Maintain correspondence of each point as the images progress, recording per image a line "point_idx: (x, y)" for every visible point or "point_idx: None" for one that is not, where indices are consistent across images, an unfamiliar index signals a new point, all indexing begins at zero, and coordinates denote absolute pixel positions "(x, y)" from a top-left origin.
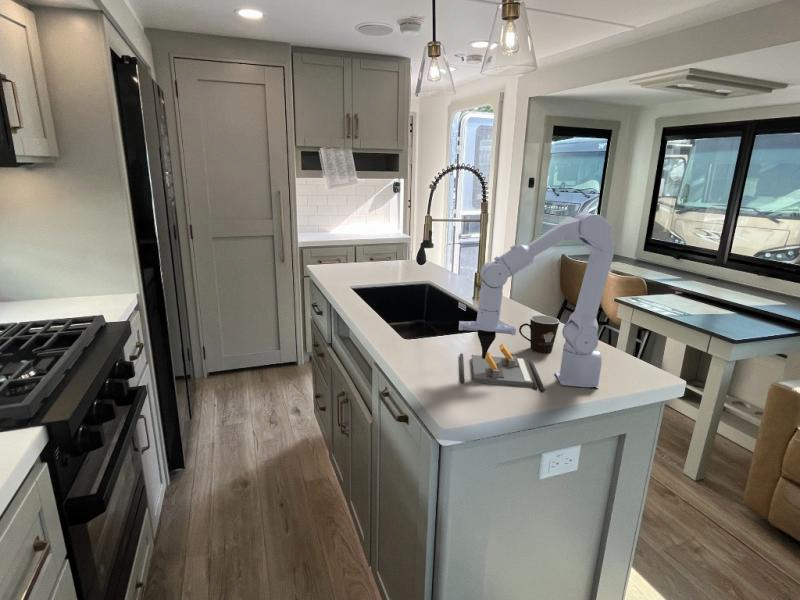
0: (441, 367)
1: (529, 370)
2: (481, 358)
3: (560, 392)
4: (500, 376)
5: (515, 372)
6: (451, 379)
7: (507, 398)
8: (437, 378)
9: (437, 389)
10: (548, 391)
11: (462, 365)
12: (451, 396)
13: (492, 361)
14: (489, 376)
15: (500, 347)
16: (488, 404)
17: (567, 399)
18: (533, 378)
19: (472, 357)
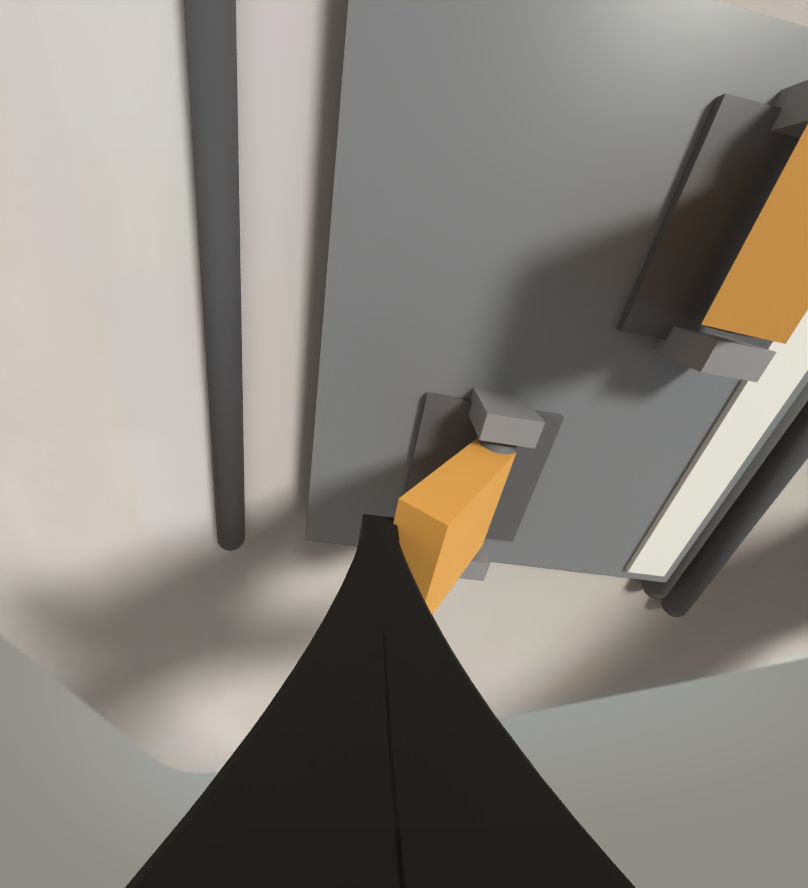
0: (26, 265)
1: (796, 399)
2: (462, 85)
3: (752, 602)
4: (490, 536)
5: (646, 454)
6: (159, 486)
7: None
8: (56, 475)
9: (96, 594)
10: None
11: (218, 302)
12: (182, 644)
13: (453, 576)
14: None
15: (784, 208)
16: None
17: (726, 650)
18: (714, 523)
19: (347, 39)
